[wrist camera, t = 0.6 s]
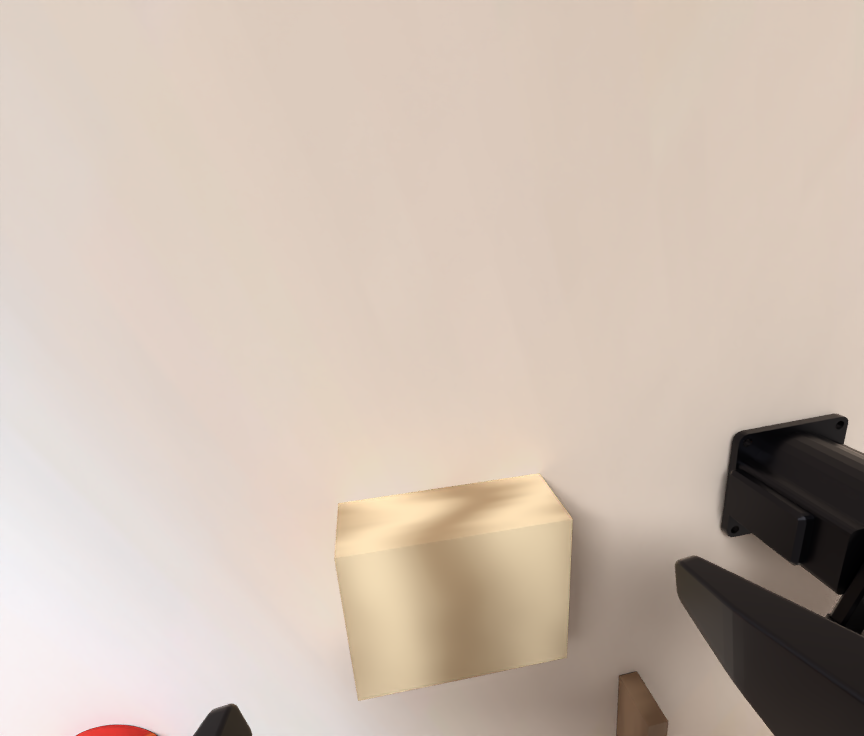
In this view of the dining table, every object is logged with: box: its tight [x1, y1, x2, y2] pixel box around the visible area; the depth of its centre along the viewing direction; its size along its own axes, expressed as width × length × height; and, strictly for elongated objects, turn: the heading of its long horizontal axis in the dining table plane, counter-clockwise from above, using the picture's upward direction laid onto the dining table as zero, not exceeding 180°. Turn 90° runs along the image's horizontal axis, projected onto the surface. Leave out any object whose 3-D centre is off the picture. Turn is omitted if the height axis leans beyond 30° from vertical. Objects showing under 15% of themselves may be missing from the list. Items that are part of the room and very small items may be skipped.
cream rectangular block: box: [334, 474, 573, 701], centre depth 21 cm, size 10×8×4 cm
